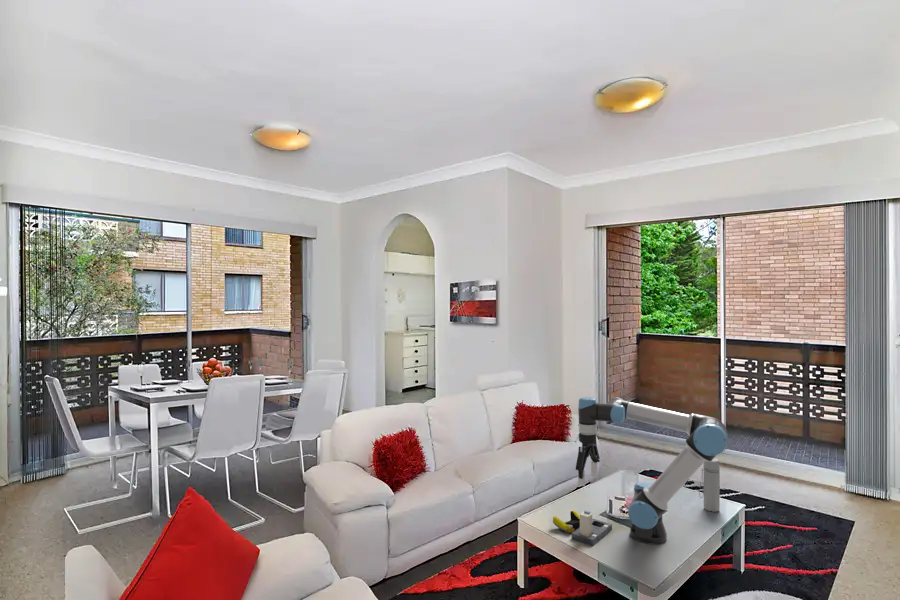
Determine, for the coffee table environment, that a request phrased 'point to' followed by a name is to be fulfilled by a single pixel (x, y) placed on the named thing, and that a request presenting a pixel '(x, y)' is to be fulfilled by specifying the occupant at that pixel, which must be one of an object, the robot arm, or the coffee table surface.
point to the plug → (586, 523)
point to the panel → (593, 532)
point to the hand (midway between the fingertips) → (588, 481)
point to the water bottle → (711, 485)
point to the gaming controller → (568, 523)
